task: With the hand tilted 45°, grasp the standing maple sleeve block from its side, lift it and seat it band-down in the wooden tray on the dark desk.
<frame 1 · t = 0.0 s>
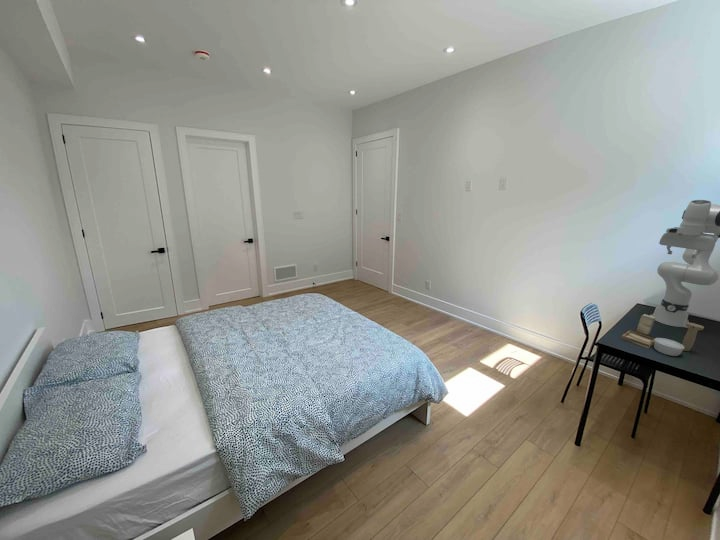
hand: (681, 256, 162), 48 cm above the table, tool pointing down, fingers open, 8 cm apart
ramekin: (665, 351, 157), on the table
handle: (684, 350, 159), on the table
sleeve: (642, 334, 174), on the table
wooden tray: (637, 340, 167), on the table
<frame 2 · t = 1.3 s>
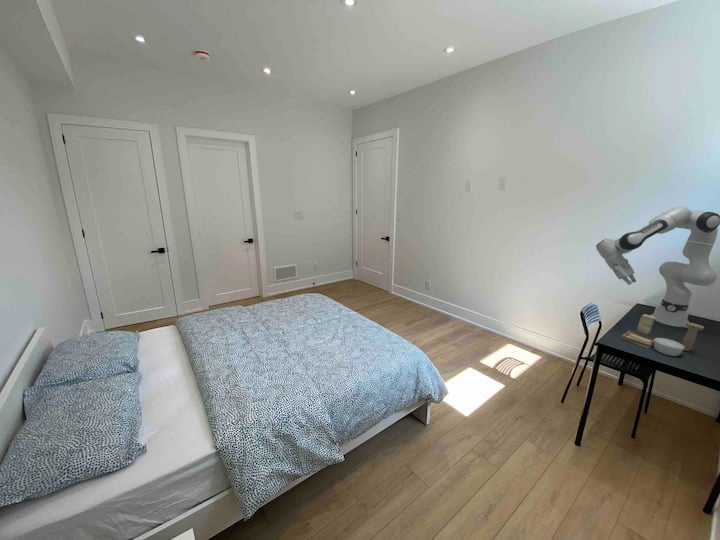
hand: (632, 283, 176), 29 cm above the table, tool tilted 45°, fingers open, 8 cm apart
nothing on the table moved.
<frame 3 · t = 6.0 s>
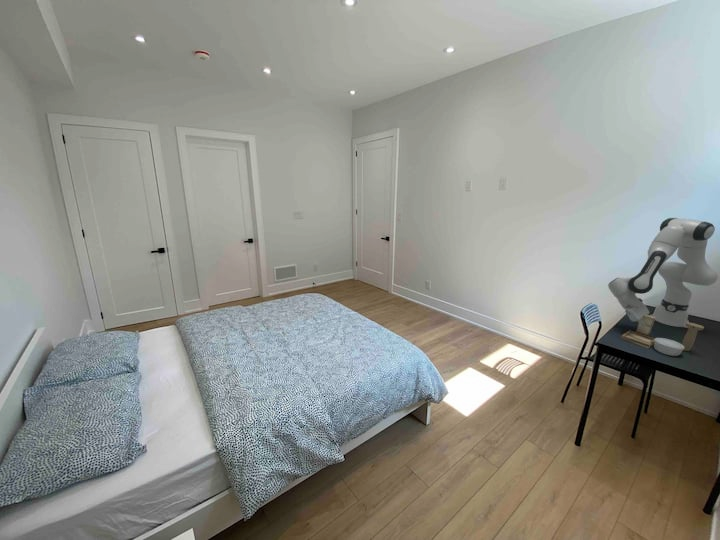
hand: (647, 324, 171), 7 cm above the table, tool tilted 45°, fingers closed on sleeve, 5 cm apart
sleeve: (642, 334, 174), on the table, touching gripper
everything else where it was.
when the fingers open (10 cm above the table, at t = 11.2 s): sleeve drops 2 cm, resting on wooden tray.
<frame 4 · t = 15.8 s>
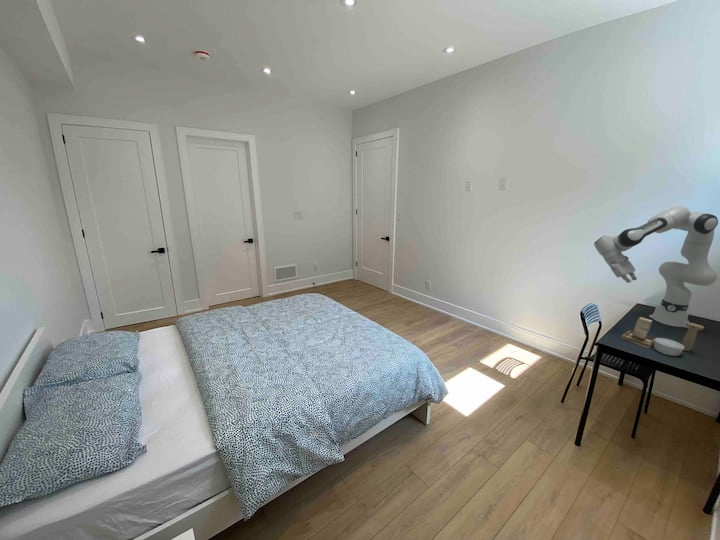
hand: (632, 281, 170), 31 cm above the table, tool tilted 45°, fingers open, 8 cm apart
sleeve: (638, 338, 167), point 1 cm above the table, touching wooden tray
everything else where it was.
at the end: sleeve inside the target area on the wooden tray (0.1 cm from its centre), point 1.0 cm above the wooden tray's base; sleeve tilted 0°; the gripper is holding nothing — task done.
